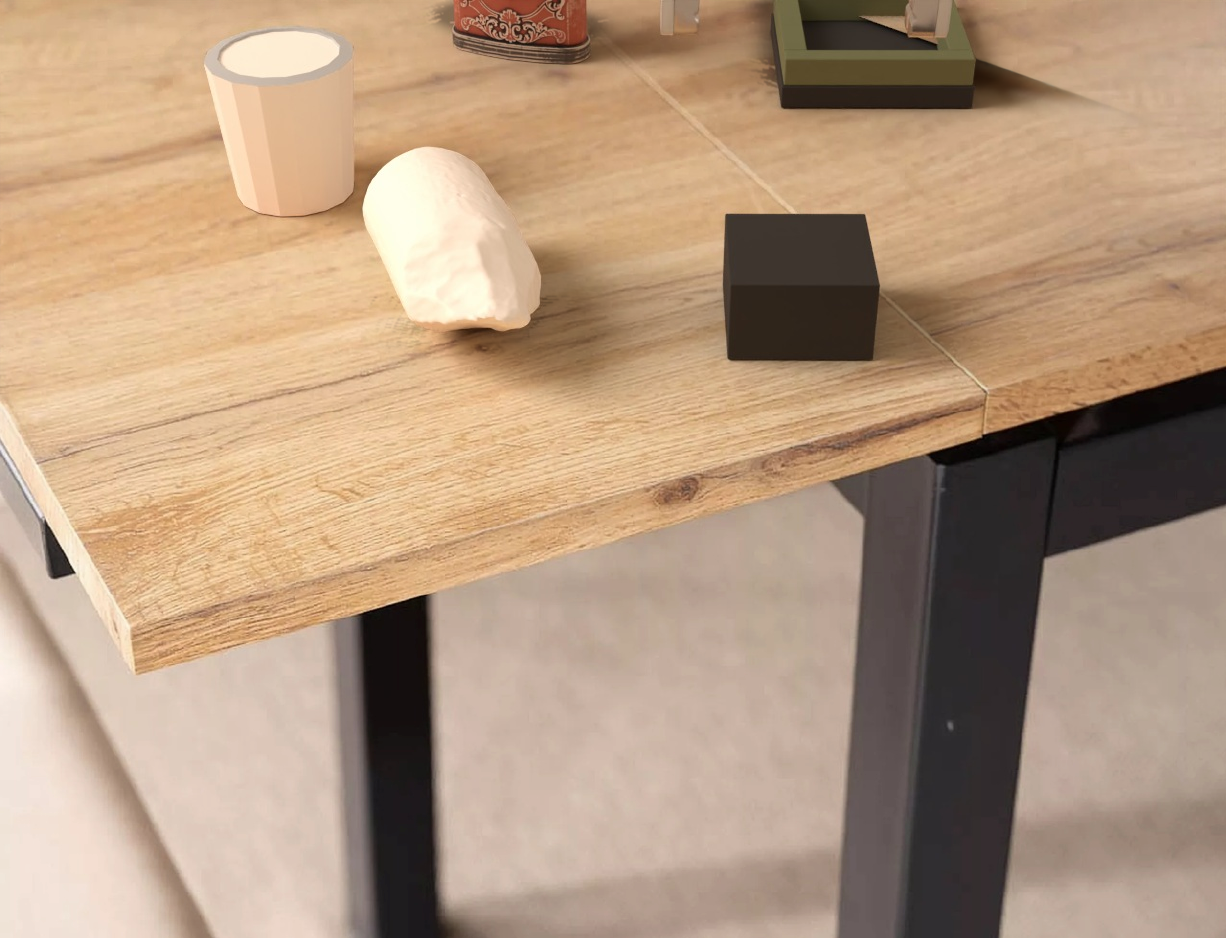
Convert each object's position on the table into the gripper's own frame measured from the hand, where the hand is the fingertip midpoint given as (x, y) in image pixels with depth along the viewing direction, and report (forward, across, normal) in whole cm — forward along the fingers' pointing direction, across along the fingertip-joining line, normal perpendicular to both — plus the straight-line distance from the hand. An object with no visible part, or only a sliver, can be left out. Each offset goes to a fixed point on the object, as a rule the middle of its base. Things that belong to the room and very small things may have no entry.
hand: (802, 31), depth 67 cm
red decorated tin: (+13, -13, +29) cm, 34 cm away
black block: (+13, +1, 0) cm, 13 cm away
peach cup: (+13, -23, +12) cm, 29 cm away
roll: (+13, -14, 0) cm, 19 cm away
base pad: (+13, +6, +26) cm, 30 cm away
